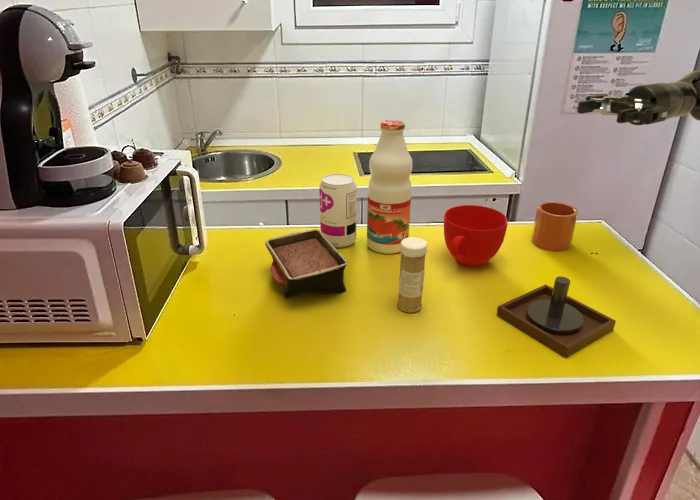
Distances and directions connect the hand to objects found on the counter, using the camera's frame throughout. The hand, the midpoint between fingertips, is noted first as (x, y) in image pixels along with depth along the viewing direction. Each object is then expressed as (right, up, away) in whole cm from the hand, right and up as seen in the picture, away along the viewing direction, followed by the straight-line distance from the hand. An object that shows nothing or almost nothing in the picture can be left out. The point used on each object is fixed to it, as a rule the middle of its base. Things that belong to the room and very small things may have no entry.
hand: (598, 112), depth 96 cm
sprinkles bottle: (-35, -36, 0) cm, 50 cm away
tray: (-10, -38, -4) cm, 40 cm away
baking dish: (-54, -32, +8) cm, 63 cm away
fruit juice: (-37, -24, +22) cm, 50 cm away
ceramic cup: (-21, -28, +15) cm, 38 cm away
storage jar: (0, -24, +24) cm, 33 cm away
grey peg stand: (-10, -37, -4) cm, 39 cm away
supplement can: (-49, -23, +24) cm, 59 cm away
